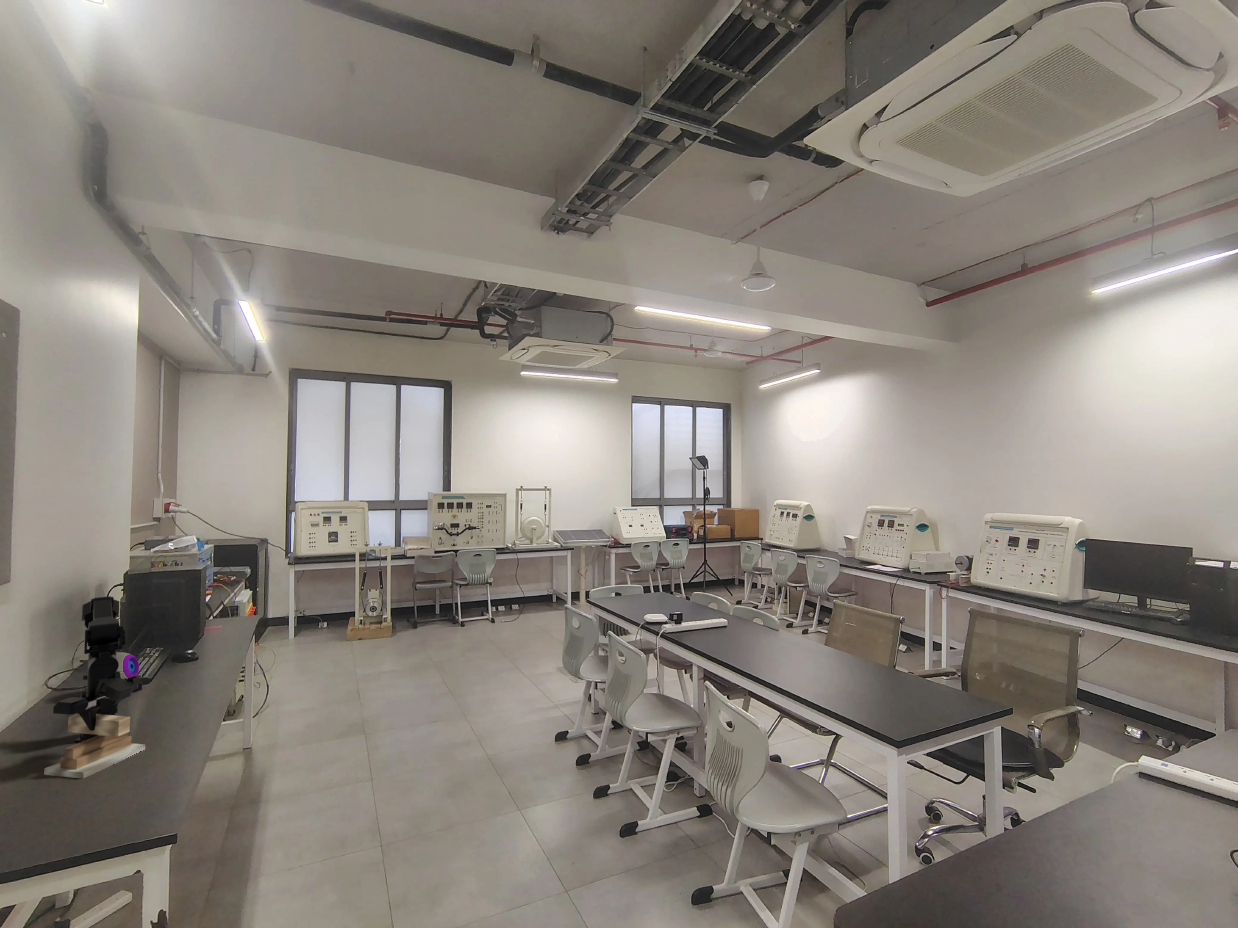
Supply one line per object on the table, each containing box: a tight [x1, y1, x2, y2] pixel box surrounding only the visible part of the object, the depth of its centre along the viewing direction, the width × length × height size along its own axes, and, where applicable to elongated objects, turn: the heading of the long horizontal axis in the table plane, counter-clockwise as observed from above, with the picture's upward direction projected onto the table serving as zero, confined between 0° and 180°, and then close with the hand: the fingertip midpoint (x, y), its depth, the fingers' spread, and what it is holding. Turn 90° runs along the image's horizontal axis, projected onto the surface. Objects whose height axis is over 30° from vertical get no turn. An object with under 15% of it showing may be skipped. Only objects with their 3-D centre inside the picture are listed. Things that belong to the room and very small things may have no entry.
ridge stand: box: [43, 732, 146, 779], centre depth 152 cm, size 12×16×6 cm
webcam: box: [116, 651, 140, 696], centre depth 200 cm, size 13×13×15 cm
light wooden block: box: [67, 713, 131, 736], centre depth 152 cm, size 16×3×4 cm, turn 82°
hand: (98, 727), depth 152 cm, fingers closed on light wooden block, 3 cm apart
